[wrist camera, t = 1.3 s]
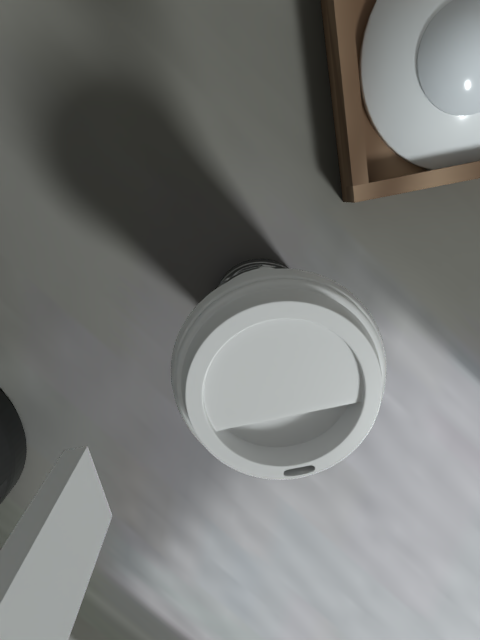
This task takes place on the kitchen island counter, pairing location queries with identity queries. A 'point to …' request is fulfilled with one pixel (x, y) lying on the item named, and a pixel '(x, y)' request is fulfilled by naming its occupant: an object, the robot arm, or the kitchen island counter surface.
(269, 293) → the coffee cup
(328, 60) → the tray
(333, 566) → the kitchen island counter surface
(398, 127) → the saucer
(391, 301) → the kitchen island counter surface
